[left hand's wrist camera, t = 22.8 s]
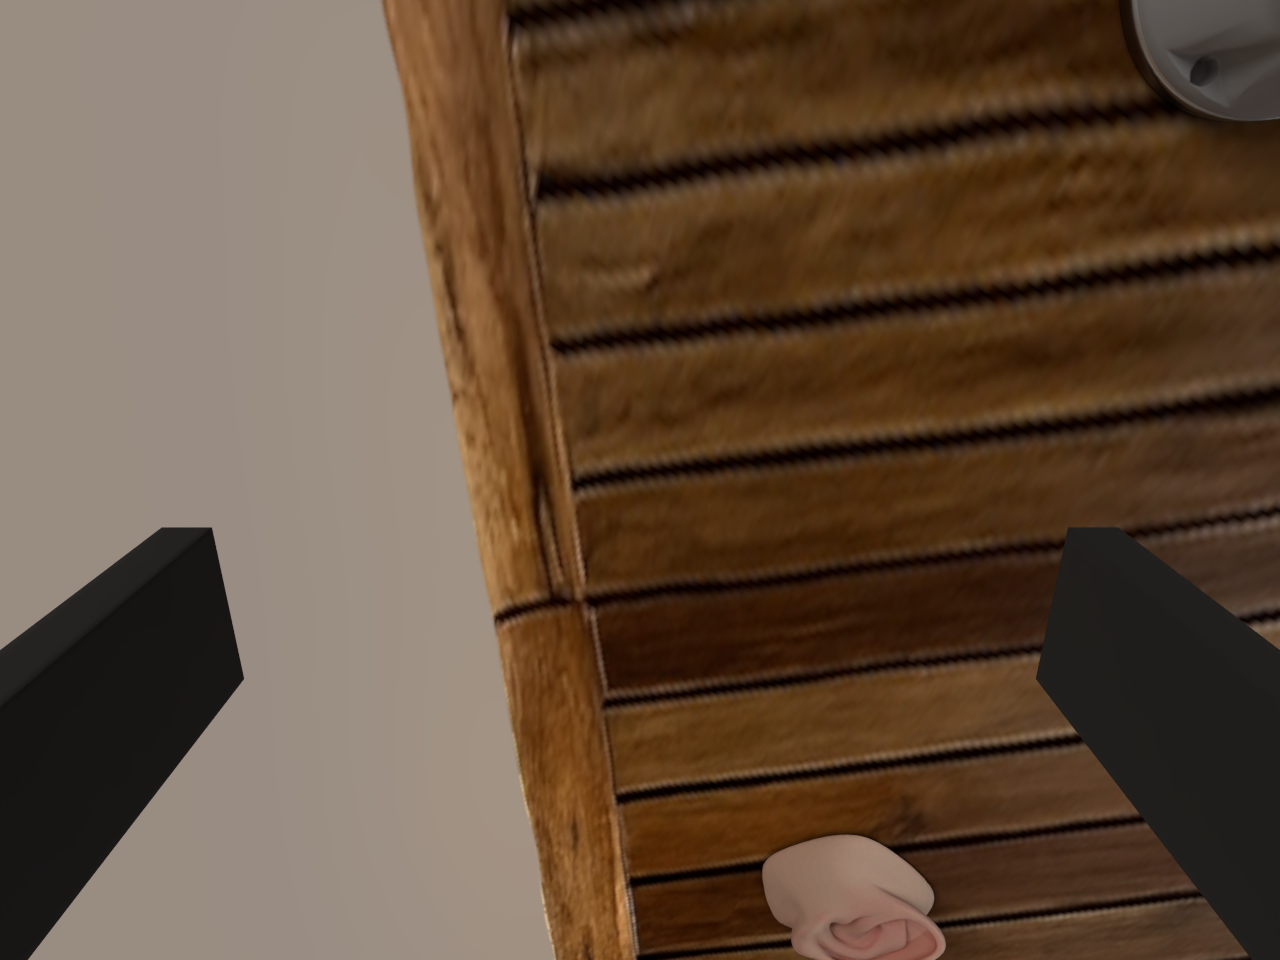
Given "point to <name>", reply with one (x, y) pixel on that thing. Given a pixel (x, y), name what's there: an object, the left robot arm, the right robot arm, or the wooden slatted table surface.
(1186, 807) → the left robot arm
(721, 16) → the wooden slatted table surface
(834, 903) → the anatomical model
